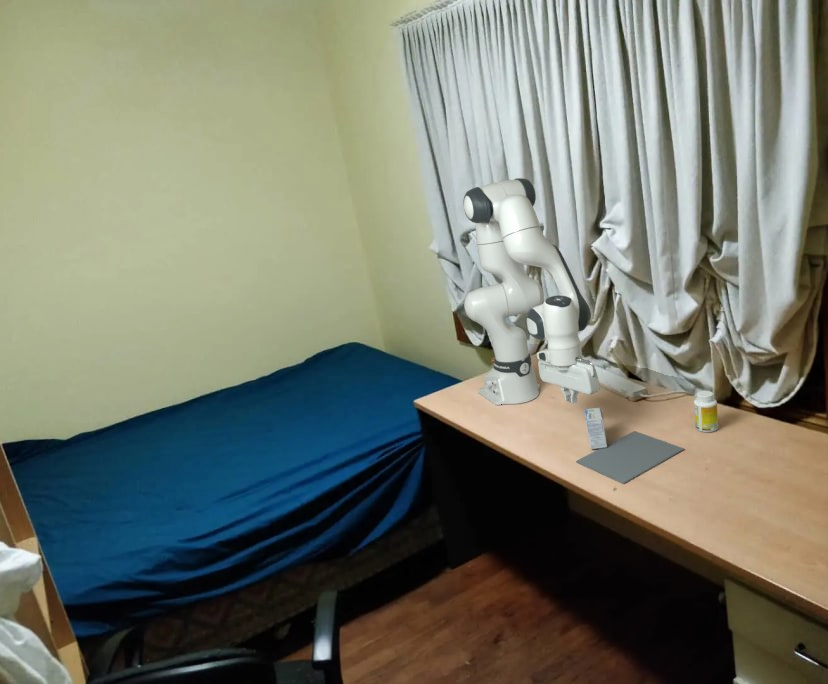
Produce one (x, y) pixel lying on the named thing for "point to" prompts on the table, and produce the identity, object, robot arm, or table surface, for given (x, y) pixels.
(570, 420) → the table surface
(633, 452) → the mat
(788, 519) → the table surface
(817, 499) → the table surface
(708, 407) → the supplement bottle
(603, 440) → the medicine box
